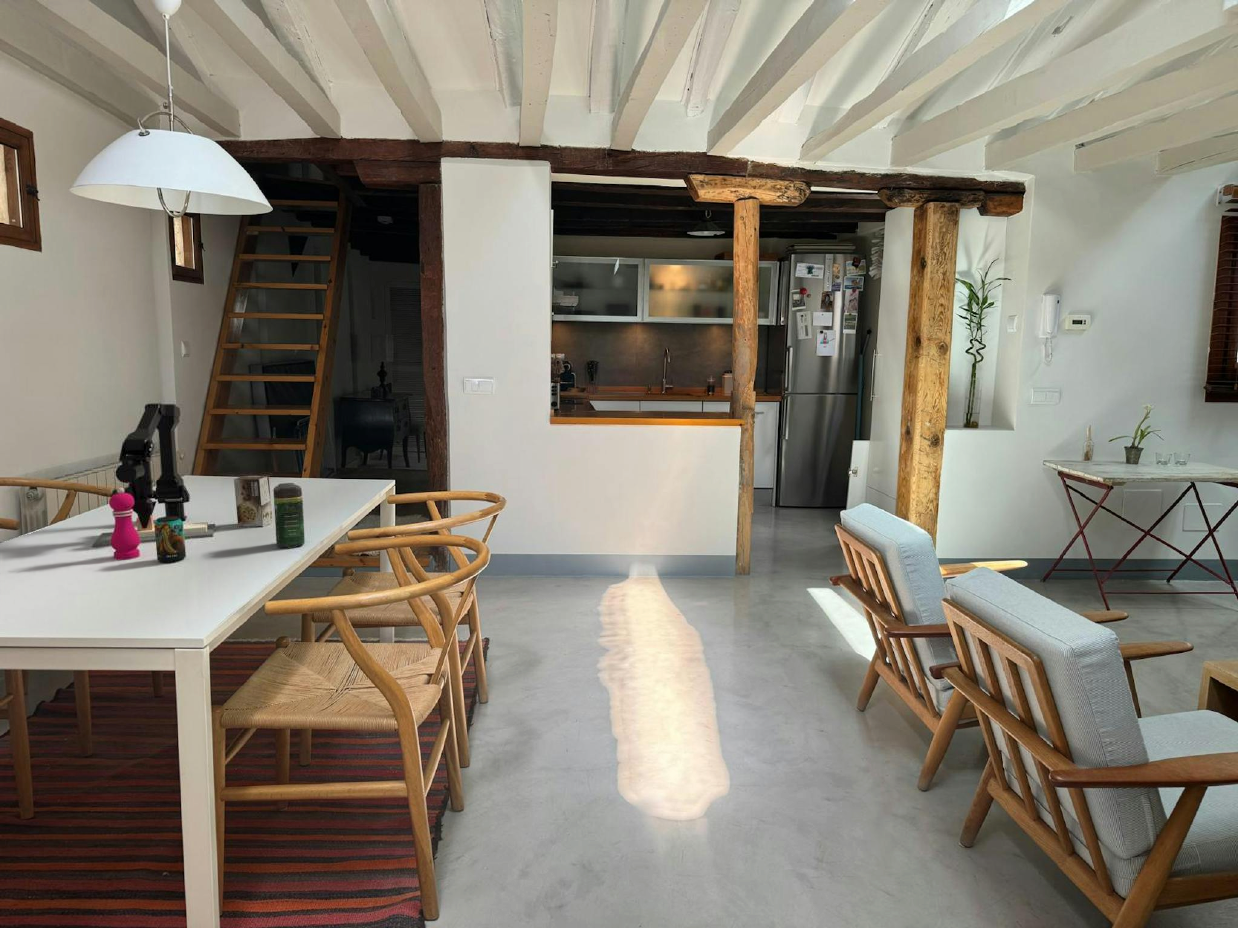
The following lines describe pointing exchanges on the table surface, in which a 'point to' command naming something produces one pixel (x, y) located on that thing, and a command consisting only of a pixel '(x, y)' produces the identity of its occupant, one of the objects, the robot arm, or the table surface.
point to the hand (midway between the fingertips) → (145, 526)
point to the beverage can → (170, 539)
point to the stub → (147, 531)
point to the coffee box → (253, 500)
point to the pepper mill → (124, 527)
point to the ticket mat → (189, 532)
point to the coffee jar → (289, 515)
